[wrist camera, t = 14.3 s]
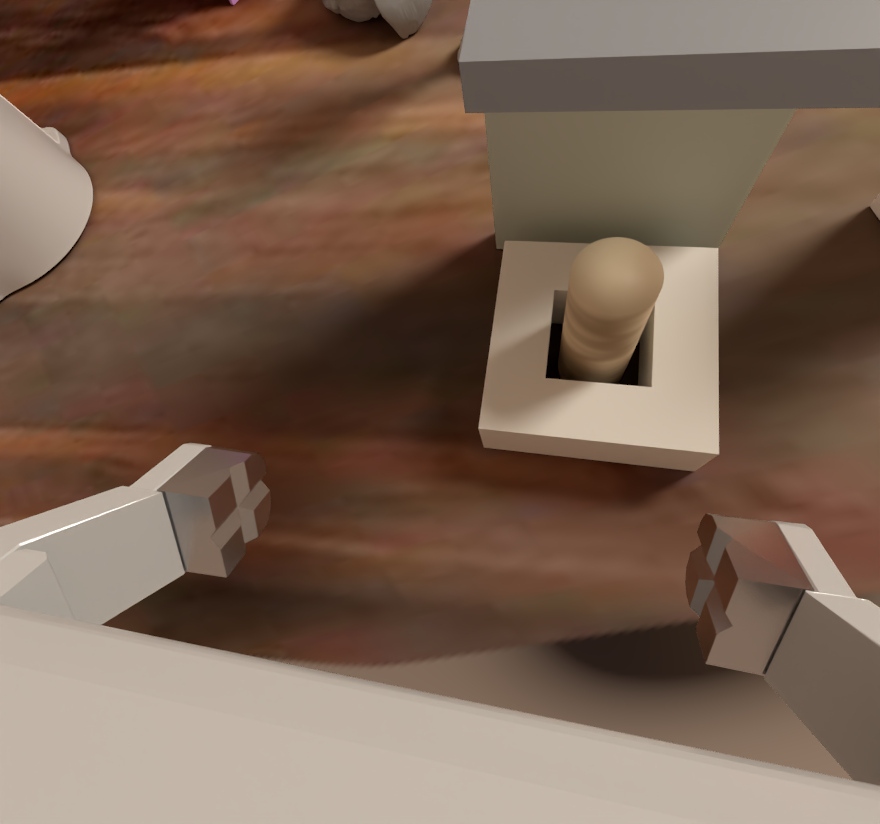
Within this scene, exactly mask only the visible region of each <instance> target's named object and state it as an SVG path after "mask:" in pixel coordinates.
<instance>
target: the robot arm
mask: <svg viewBox="0 0 880 824" xmlns="http://www.w3.org/2000/svg"><path fill="white" fill-rule="evenodd" d="M92 202H93V188H92V183H91V180H90V177H89V175H88V173H87V172H86V170H85V169H84V168H83V167H82V166H81V165H80V164H79V163H78V162H77V161H76V160H75V159H74V158H73V157H72V156H71V154H70V150H69V145H68V142H67V139H66V138H65V137H64V136H63V135H62V134H61V133H60V132H58V131H57V130H56V129H55V128H52V127H47V128H40V127H39V126H37V125H36V124H35V123H34V122H33V121H31V120H30V119H29V118H28V117H27V116H25V115H24V114H23V113H22V112H21V111H19V110H18V109H17V108H16V107H15V106H13V105H12V104H11V103H10V102H9V101H7V100H6V99H5V98H4V97H2V96H1V95H0V301H1V300H2V299H3V298H4V297H5V296H7V295H8V294H10V293H12V292H13V291H15V290H17V289H19V288H21V287H23V286H25V285H27V284H29V283H31V282H33V281H35V280H36V279H38V278H39V277H41V276H42V275H44V274H45V273H46V272H48V271H49V270H50V269H51V268H53V267H54V266H55V265H56V264H57V263H58V262H59V261H60V260H61V259H62V258H63V257H64V256H65V255H66V254H67V253H68V252H69V251H70V249H71V248H72V247H73V245H74V244H75V243H76V241H77V240H78V238H79V237H80V235H81V233H82V231H83V230H84V228H85V226H86V223H87V221H88V218H89V215H90V212H91V208H92ZM266 472H267V471H266V466H265V461H264V457H262V456H261V455H260V454H259V453H256V452H250V451H243V450H237V449H230V448H224V447H218V446H210V445H204V444H196V443H187V444H183V445H181V446H180V447H179V448H178V449H176V450H175V451H174V452H173V453H171V454H170V455H169V456H168V457H166V458H165V459H164V460H163V461H161V462H160V463H159V464H158V465H156V466H155V467H154V468H152V469H151V470H150V471H149V472H147V473H146V474H145V475H144V476H142V477H141V478H140V479H139V480H137V481H136V482H135V483H134V484H132V485H131V486H130V487H126V486H120V487H117V488H114V489H112V490H109V491H106V492H103V493H100V494H97V495H94V496H91V497H88V498H85V499H82V500H79V501H76V502H73V503H70V504H67V505H64V506H62V507H59V508H56V509H53V510H50V511H47V512H44V513H41V514H38V515H35V516H32V517H29V518H26V519H23V520H20V521H17V522H15V523H12V524H9V525H6V526H3V527H0V824H880V608H879V607H878V606H876V605H875V604H873V603H872V602H870V601H868V600H865V599H859V598H856V596H855V595H854V593H853V591H852V590H851V588H850V587H849V585H848V584H847V582H846V581H845V579H844V578H843V576H842V575H841V573H840V572H839V570H838V569H837V567H836V566H835V564H834V563H833V561H832V560H831V558H830V556H829V555H828V553H827V552H826V550H825V549H824V547H823V546H822V544H821V543H820V541H819V540H818V538H817V537H816V535H815V534H814V532H813V531H812V529H811V528H809V527H808V526H806V525H805V524H797V523H788V522H778V521H763V520H755V519H747V518H739V517H730V516H722V515H714V514H705V515H704V517H703V518H702V520H701V522H700V525H699V528H698V531H697V533H698V536H699V539H700V542H701V546H699V547H698V548H696V549H695V550H693V551H692V552H691V553H690V557H689V560H688V564H687V567H686V580H685V585H686V594H687V599H688V602H689V606H690V608H691V609H692V610H693V611H694V612H695V613H696V614H697V615H698V616H699V617H700V618H699V621H698V624H697V627H696V632H697V635H698V638H699V642H700V646H701V649H702V653H703V656H704V659H705V663H706V664H710V665H714V666H719V667H725V668H729V669H734V670H739V671H744V672H749V673H753V674H758V675H763V676H764V679H765V680H766V681H767V683H768V684H769V685H770V686H771V687H772V688H773V689H774V691H775V692H776V693H777V694H778V695H779V696H780V697H781V699H783V701H784V702H785V703H786V704H787V705H788V706H789V708H790V709H791V710H792V711H793V712H794V713H795V714H796V715H797V717H798V718H799V719H800V720H801V721H802V722H803V723H804V725H805V726H806V727H807V728H808V729H809V730H810V731H811V732H812V734H813V735H814V736H815V737H816V738H817V739H818V740H819V741H820V743H821V744H822V745H823V746H824V747H825V748H826V750H827V751H828V752H829V753H830V754H831V755H832V756H833V757H834V759H835V760H836V761H837V762H838V763H839V764H840V765H841V766H842V767H843V769H844V770H845V771H846V772H847V773H848V774H849V776H850V777H851V778H852V779H853V780H850V779H845V778H840V777H835V776H831V775H826V774H821V773H816V772H811V771H806V770H801V769H796V768H792V767H787V766H782V765H777V764H772V763H767V762H763V761H758V760H753V759H748V758H743V757H738V756H733V755H728V754H723V753H718V752H714V751H709V750H704V749H699V748H694V747H689V746H684V745H680V744H675V743H670V742H665V741H660V740H655V739H651V738H646V737H641V736H636V735H631V734H626V733H622V732H617V731H612V730H607V729H602V728H598V727H593V726H588V725H583V724H578V723H573V722H568V721H564V720H559V719H554V718H549V717H544V716H539V715H535V714H530V713H525V712H520V711H515V710H511V709H506V708H501V707H496V706H491V705H486V704H482V703H477V702H472V701H467V700H462V699H457V698H452V697H448V696H443V695H438V694H433V693H428V692H423V691H419V690H414V689H409V688H404V687H399V686H394V685H389V684H384V683H379V682H375V681H370V680H365V679H360V678H355V677H350V676H345V675H341V674H336V673H331V672H326V671H321V670H316V669H311V668H307V667H302V666H297V665H292V664H287V663H282V662H278V661H273V660H268V659H263V658H258V657H253V656H248V655H244V654H239V653H234V652H229V651H224V650H219V649H214V648H210V647H205V646H200V645H195V644H190V643H185V642H180V641H176V640H171V639H166V638H161V637H156V636H151V635H147V634H142V633H137V632H132V631H127V630H122V629H117V628H113V627H108V626H103V625H102V624H103V623H105V622H106V621H108V620H110V619H111V618H113V617H115V616H116V615H118V614H120V613H121V612H123V611H124V610H126V609H128V608H129V607H131V606H133V605H134V604H136V603H138V602H139V601H141V600H142V599H144V598H146V597H147V596H149V595H151V594H152V593H154V592H156V591H157V590H159V589H160V588H162V587H164V586H165V585H167V584H169V583H170V582H172V581H174V580H175V579H177V578H178V577H180V576H182V575H183V574H185V572H184V571H186V572H193V573H200V574H206V575H213V576H220V577H228V576H229V574H230V573H231V572H232V570H233V569H234V568H235V566H236V565H237V564H238V563H239V561H240V560H241V559H242V557H243V556H244V555H245V553H246V548H245V543H247V542H249V541H251V540H253V539H255V538H257V537H258V536H259V535H260V534H261V532H262V531H263V529H264V528H265V527H266V524H267V521H268V518H269V516H270V513H271V495H270V490H269V489H268V488H267V487H266V485H265V484H264V483H263V482H262V481H261V479H262V478H263V477H264V475H265V474H266Z"/></svg>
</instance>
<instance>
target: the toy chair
mask: <svg viewBox="0 0 880 824" xmlns="http://www.w3.org/2000/svg"><path fill="white" fill-rule="evenodd" d="M237 1H238V0H229V2H230V4H231V5H234V4H236V3H237Z"/></svg>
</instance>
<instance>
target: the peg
mask: <svg viewBox="0 0 880 824" xmlns="http://www.w3.org/2000/svg"><path fill="white" fill-rule="evenodd" d="M663 283H664V270H663V266H662V264H661V261H660V260H659V258H658V256H657V255H656V254H655V253H654V252H653V251H652V250H651V249H650V248H649V247H648V246H646V245H644V244H643V243H641V242H638V241H636V240H633V239H629V238H623V237H611V238H605V239H601V240H598V241H595V242H593V243H591V244H589V245H588V246H586V247H585V248H584V249H583V250H581V252H580V253H579V254H578V255H577V256H576V258H575V259H574V261H573V263H572V266H571V270H570V277H569V285H568V292H567V300H566V307H565V314H564V322H563V329H562V337H561V344H560V352H559V359H558V372H559V375H560V377H561V379H562V380H574V381H586V382H597V383H609V384H619V382H620V381H621V379H622V377H623V374H624V372H625V370H626V368H627V365H628V363H629V361H630V359H631V356H632V354H633V352H634V350H635V347H636V345H637V343H638V341H639V338H640V336H641V334H642V332H643V329H644V327H645V325H646V323H647V320H648V318H649V316H650V314H651V311H652V309H653V307H654V305H655V302H656V300H657V298H658V296H659V293H660V291H661V289H662V286H663Z"/></svg>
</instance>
